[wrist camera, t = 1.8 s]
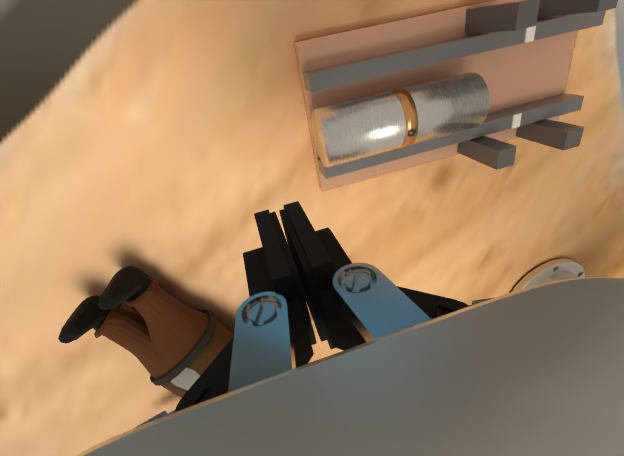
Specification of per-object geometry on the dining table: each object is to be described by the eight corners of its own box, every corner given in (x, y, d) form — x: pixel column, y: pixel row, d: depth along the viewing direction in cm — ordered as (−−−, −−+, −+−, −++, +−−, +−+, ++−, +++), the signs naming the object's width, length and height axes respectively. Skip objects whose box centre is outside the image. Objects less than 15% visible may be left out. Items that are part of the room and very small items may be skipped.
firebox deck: (548, 124, 34) (609, 139, 28) (319, 187, 30) (341, 216, 25) (577, -18, 27) (662, -33, 22) (294, 42, 24) (316, 41, 19)
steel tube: (460, 63, 26) (498, 85, 23) (449, 114, 30) (481, 139, 27) (308, 99, 25) (328, 127, 22) (314, 149, 28) (332, 180, 25)
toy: (198, 215, 23) (401, 407, 36) (210, 182, 32) (369, 345, 44) (-32, 408, 25) (236, 526, 38) (38, 327, 34) (237, 445, 46)
